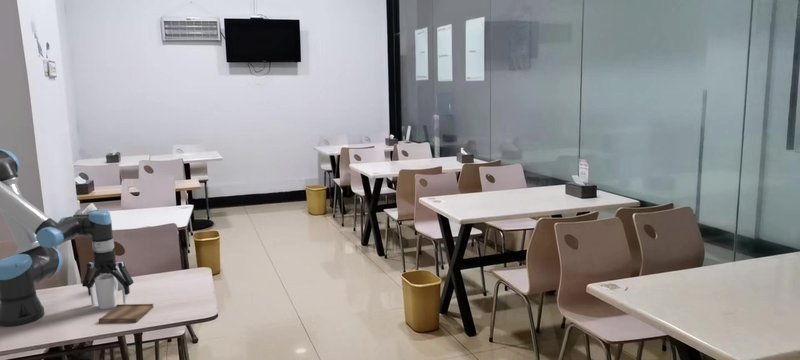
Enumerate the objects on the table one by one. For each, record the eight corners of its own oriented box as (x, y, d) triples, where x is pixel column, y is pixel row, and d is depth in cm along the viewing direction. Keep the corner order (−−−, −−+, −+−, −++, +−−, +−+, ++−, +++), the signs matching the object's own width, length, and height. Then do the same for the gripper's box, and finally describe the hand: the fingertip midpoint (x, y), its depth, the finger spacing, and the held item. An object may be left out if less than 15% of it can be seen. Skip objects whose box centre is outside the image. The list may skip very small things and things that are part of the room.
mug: (108, 310, 226) (104, 280, 224) (94, 308, 228) (90, 279, 226) (126, 300, 236) (123, 272, 234) (112, 299, 237) (109, 271, 235)
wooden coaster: (99, 323, 214) (98, 319, 213) (117, 308, 228) (117, 304, 227) (136, 322, 213) (136, 318, 213) (153, 307, 227) (152, 303, 227)
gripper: (67, 253, 224) (74, 306, 228) (129, 252, 224) (136, 305, 227) (78, 248, 232) (85, 299, 235) (138, 246, 231) (144, 298, 235)
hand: (110, 302), depth 231 cm, fingers open, 12 cm apart
